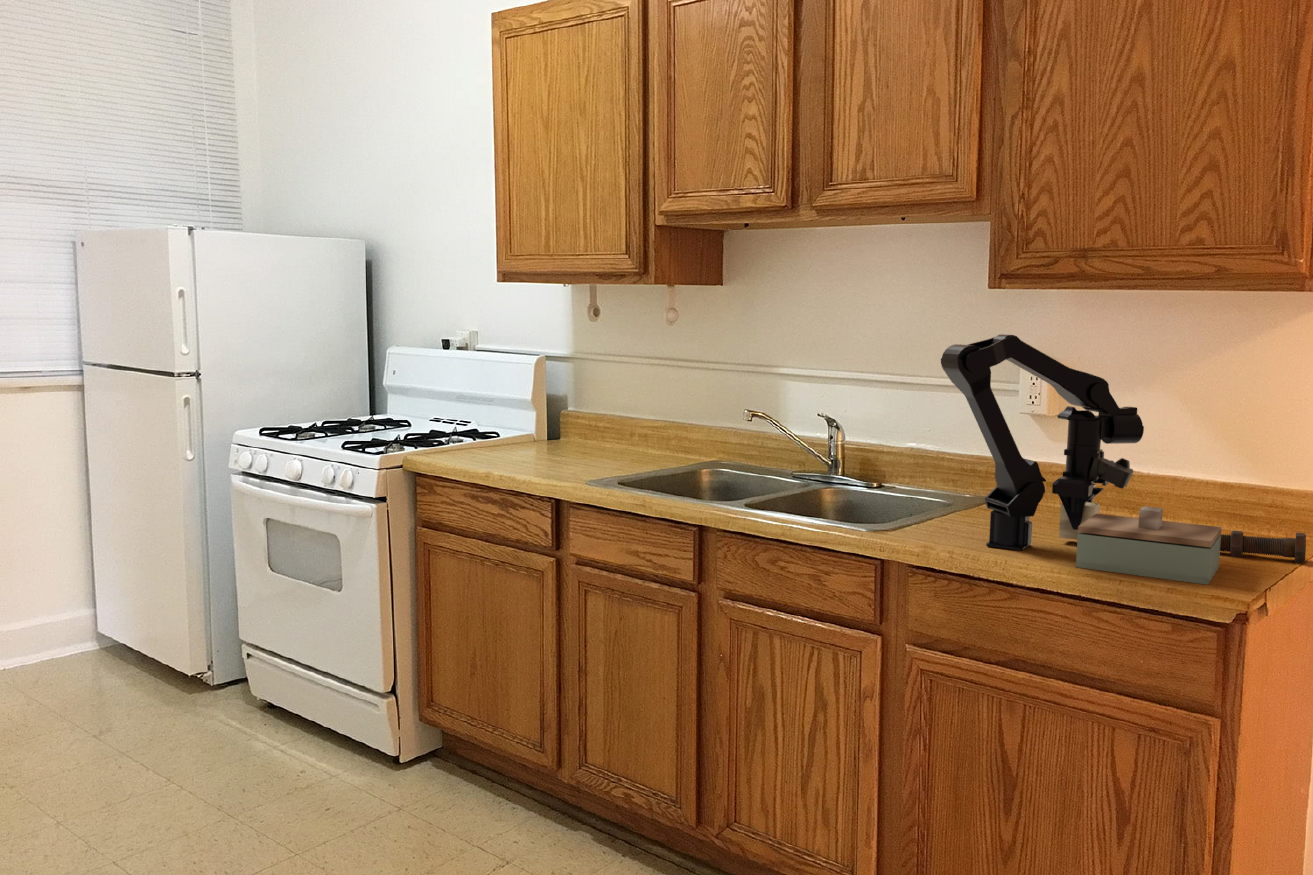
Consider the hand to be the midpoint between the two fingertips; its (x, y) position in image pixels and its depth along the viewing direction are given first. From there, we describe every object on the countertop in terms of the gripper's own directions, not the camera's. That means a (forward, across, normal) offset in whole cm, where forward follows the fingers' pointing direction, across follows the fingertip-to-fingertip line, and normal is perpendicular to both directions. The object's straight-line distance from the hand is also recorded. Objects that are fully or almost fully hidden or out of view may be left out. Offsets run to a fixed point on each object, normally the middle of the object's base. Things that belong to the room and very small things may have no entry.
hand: (1078, 527), depth 201 cm
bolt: (+3, +7, -28) cm, 30 cm away
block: (+2, 0, 0) cm, 2 cm away
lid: (-3, -13, -14) cm, 19 cm away
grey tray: (+3, -10, -14) cm, 17 cm away
